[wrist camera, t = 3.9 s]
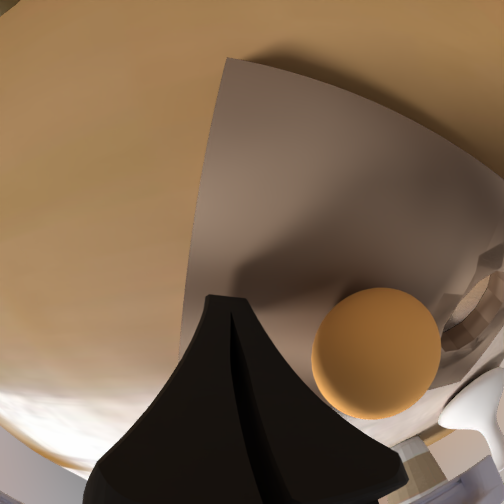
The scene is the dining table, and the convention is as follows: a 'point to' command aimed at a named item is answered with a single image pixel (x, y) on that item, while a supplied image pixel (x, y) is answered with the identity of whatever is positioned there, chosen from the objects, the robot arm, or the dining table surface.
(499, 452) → the flower in vase
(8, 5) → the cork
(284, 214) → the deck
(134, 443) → the robot arm
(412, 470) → the coffee cup
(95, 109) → the dining table surface
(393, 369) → the ball
